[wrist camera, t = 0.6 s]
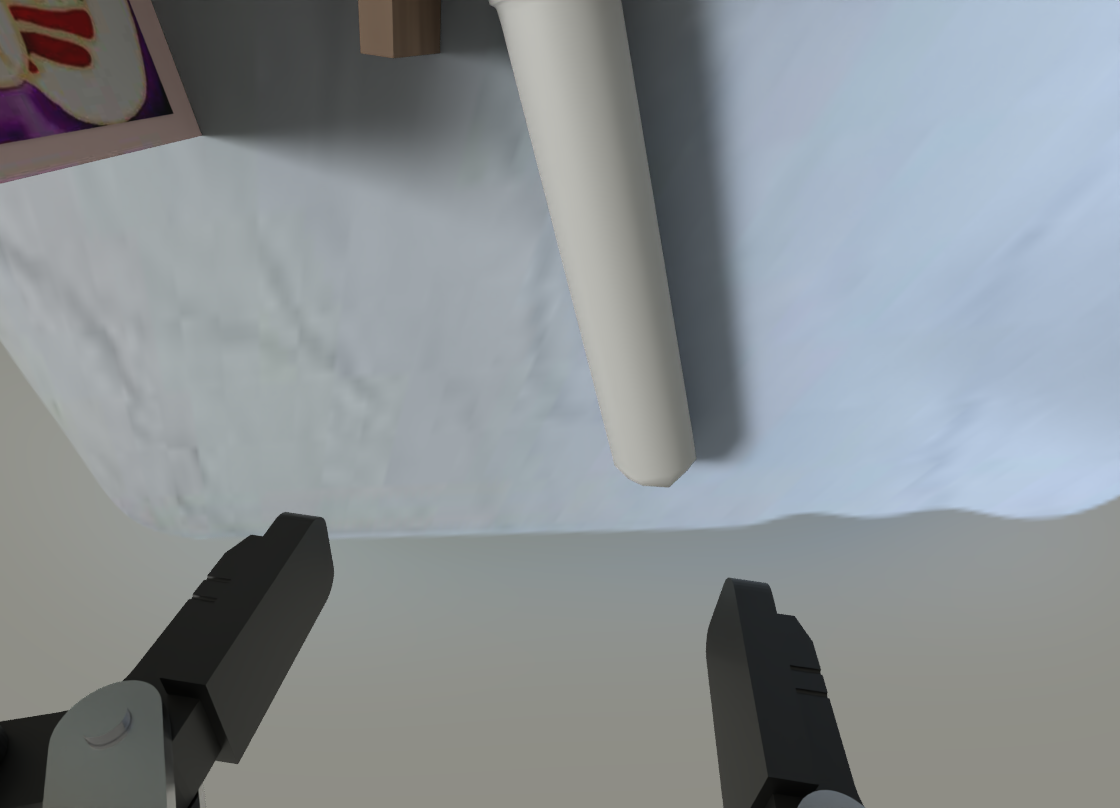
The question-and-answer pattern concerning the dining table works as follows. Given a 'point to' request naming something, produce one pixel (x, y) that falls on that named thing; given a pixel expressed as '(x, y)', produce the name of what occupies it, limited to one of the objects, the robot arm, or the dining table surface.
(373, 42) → the socket block
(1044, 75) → the dining table surface
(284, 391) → the dining table surface
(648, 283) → the tube
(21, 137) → the greeting card
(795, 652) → the robot arm
